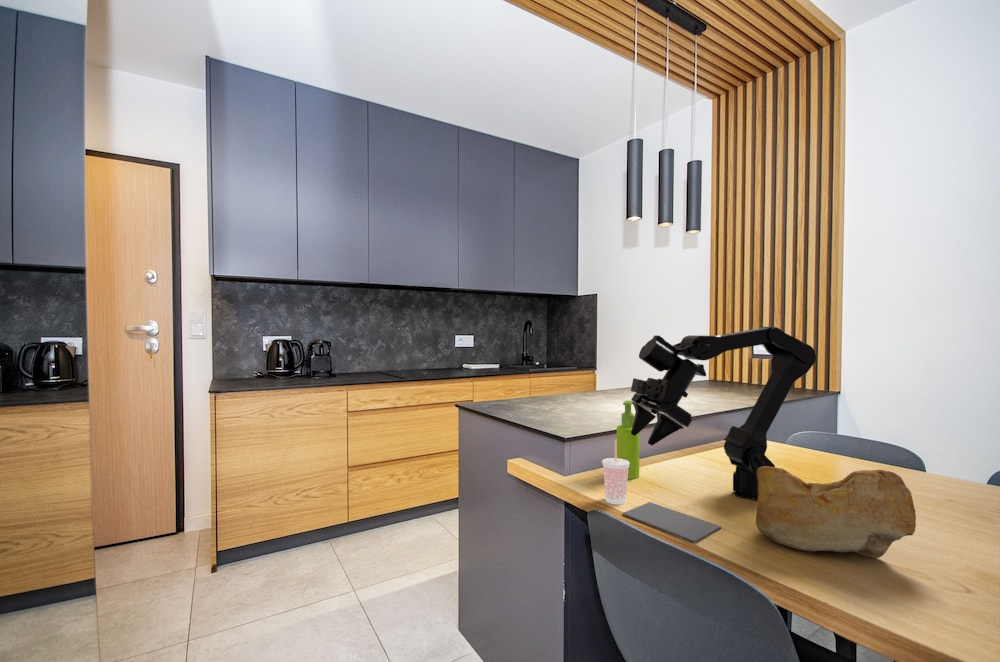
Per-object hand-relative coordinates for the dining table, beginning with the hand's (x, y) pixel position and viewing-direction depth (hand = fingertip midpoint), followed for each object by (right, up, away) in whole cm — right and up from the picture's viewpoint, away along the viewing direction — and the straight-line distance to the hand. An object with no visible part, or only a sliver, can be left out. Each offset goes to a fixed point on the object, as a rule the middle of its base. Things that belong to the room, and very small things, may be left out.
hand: (640, 439), depth 102 cm
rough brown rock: (+28, -14, -20) cm, 37 cm away
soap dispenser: (+2, -14, +18) cm, 23 cm away
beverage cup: (-6, -14, 0) cm, 15 cm away
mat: (+2, -14, -12) cm, 18 cm away
